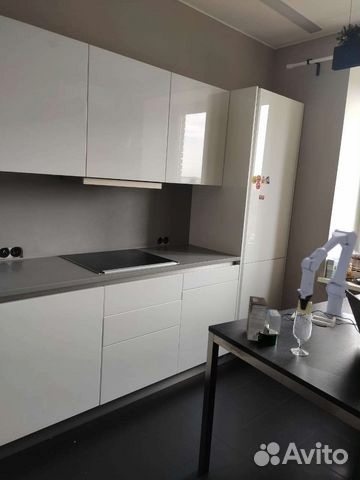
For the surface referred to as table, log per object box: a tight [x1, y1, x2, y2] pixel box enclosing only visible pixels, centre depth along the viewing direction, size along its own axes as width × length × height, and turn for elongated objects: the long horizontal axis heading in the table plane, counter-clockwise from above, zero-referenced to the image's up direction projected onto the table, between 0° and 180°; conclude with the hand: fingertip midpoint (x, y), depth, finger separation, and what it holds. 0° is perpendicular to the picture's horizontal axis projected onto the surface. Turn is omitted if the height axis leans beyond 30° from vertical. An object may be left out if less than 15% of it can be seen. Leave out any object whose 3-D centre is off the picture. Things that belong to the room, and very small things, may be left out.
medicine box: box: [265, 309, 282, 336], centre depth 158 cm, size 8×4×9 cm, turn 179°
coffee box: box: [245, 295, 268, 342], centre depth 151 cm, size 9×6×16 cm
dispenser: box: [310, 314, 337, 328], centre depth 173 cm, size 7×11×3 cm, turn 60°
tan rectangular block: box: [296, 300, 313, 316], centre depth 177 cm, size 3×6×6 cm, turn 60°
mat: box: [290, 311, 313, 319], centre depth 178 cm, size 9×9×1 cm
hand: (303, 308), depth 177 cm, fingers closed on tan rectangular block, 3 cm apart
